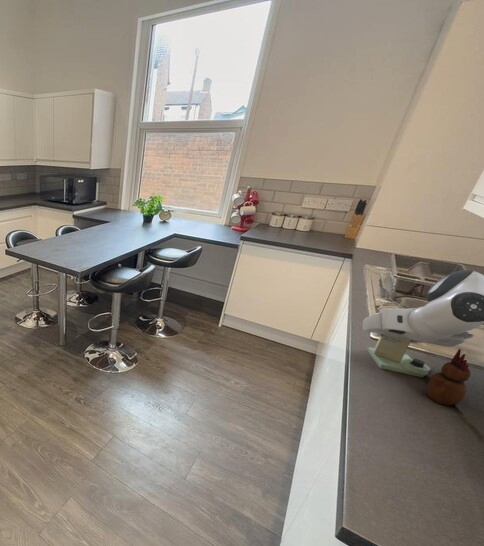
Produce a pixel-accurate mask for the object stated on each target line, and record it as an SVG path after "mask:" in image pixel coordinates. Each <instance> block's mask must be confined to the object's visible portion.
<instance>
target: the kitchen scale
mask: <svg viewBox="0 0 484 546" xmlns="http://www.w3.org/2000/svg"><path fill="white" fill-rule="evenodd" d="M374 348H375V347H370V346H368V347H367V352H368V354H369V355H370V356H371V358H372V360H373V361H374V362H375V363H376V365H377V366H378V367H379V368H380V369H383V370H387V371H392V372H396V373H397V372H398V373H400V374H401V373H402V374H405V375H410V376H414V377H418V378H425V376H426V375H428V374H429V372H430V370H431V367H430V366H429V365H428V364H427V363H425V364H424V366H423V368H420V367H416V366H414V365H412V364H411V362H412V361H413V358H411V356H410V355H409V354H406V353H405V354H404V356H403V358H402V359H401V361H400V362H396V361H393V360H390V359H387V358H384V357H381V356H378V355H376V354H374Z"/></svg>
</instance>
